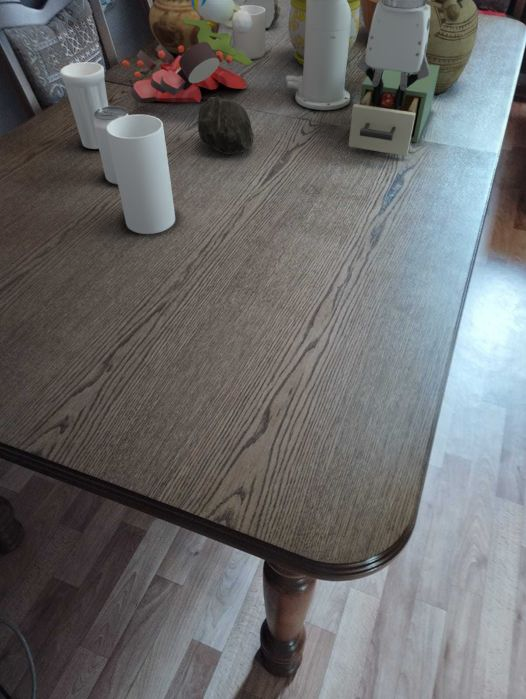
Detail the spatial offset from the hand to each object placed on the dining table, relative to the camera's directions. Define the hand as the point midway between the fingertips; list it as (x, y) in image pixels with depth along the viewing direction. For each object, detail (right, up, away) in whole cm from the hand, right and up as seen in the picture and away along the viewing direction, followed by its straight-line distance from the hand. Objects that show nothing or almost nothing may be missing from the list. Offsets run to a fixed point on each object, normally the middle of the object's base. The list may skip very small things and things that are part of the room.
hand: (387, 106), depth 105 cm
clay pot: (-45, +37, +47) cm, 75 cm away
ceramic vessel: (+15, +18, +29) cm, 37 cm away
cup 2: (-43, -25, -12) cm, 51 cm away
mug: (-27, +35, +46) cm, 64 cm away
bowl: (+15, +42, +53) cm, 69 cm away
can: (-50, -14, -2) cm, 52 cm away
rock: (-31, -6, +6) cm, 32 cm away
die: (0, 0, 0) cm, 0 cm away
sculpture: (-24, +55, +66) cm, 89 cm away
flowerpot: (-8, +30, +41) cm, 52 cm away
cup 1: (-57, -4, +7) cm, 58 cm away
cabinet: (+5, +3, +14) cm, 15 cm away
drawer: (+1, -4, +6) cm, 7 cm away
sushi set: (-39, +14, +26) cm, 49 cm away
